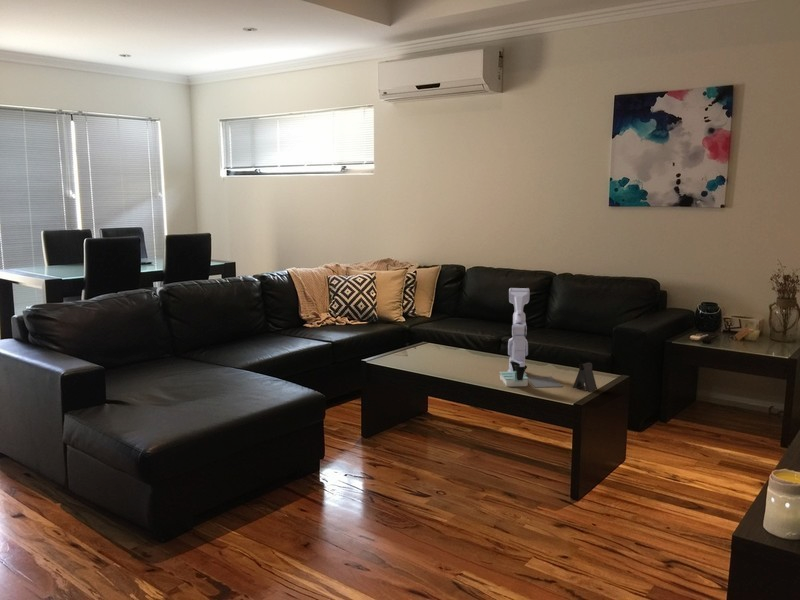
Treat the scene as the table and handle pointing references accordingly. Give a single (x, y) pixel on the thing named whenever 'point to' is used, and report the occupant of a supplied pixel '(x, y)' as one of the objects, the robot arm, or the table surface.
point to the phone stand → (585, 378)
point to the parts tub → (512, 383)
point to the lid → (512, 376)
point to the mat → (544, 382)
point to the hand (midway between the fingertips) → (518, 378)
